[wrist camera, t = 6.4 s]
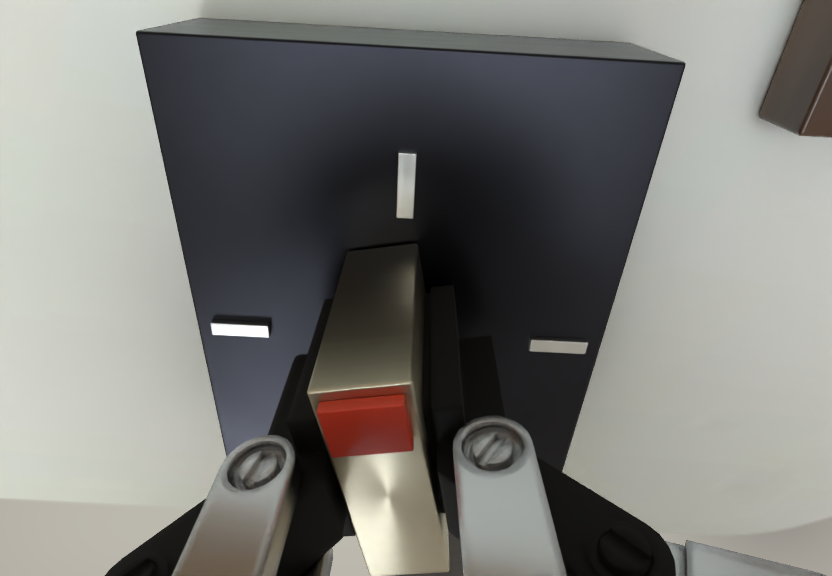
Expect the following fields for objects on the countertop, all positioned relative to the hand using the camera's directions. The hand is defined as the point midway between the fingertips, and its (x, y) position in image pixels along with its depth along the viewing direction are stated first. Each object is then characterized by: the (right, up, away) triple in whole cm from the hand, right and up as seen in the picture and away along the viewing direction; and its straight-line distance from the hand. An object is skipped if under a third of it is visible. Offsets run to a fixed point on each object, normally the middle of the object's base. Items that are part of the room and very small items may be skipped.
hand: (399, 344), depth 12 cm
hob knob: (0, 0, 0) cm, 0 cm away
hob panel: (0, +2, +3) cm, 3 cm away
